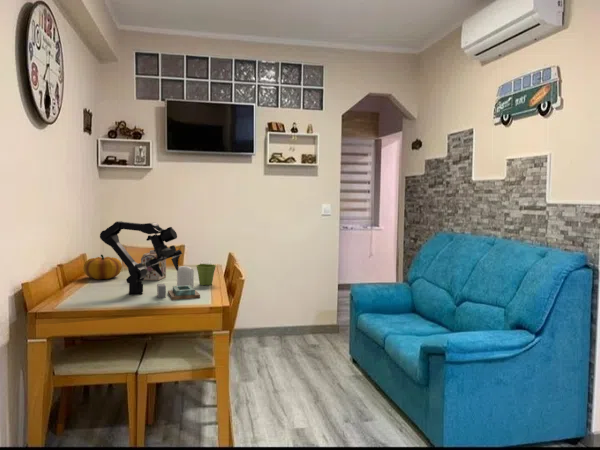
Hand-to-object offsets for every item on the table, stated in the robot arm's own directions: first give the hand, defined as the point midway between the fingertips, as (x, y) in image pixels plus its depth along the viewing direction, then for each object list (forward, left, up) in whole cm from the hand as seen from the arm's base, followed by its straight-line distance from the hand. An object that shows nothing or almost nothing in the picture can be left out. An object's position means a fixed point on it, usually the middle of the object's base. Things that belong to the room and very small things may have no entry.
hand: (170, 273), depth 235 cm
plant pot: (+24, +23, -12) cm, 35 cm away
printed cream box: (+11, +17, -12) cm, 23 cm away
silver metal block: (-4, -1, -12) cm, 12 cm away
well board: (+7, -3, -12) cm, 13 cm away
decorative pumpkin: (-32, +63, -12) cm, 72 cm away
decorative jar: (-3, +51, -12) cm, 53 cm away
